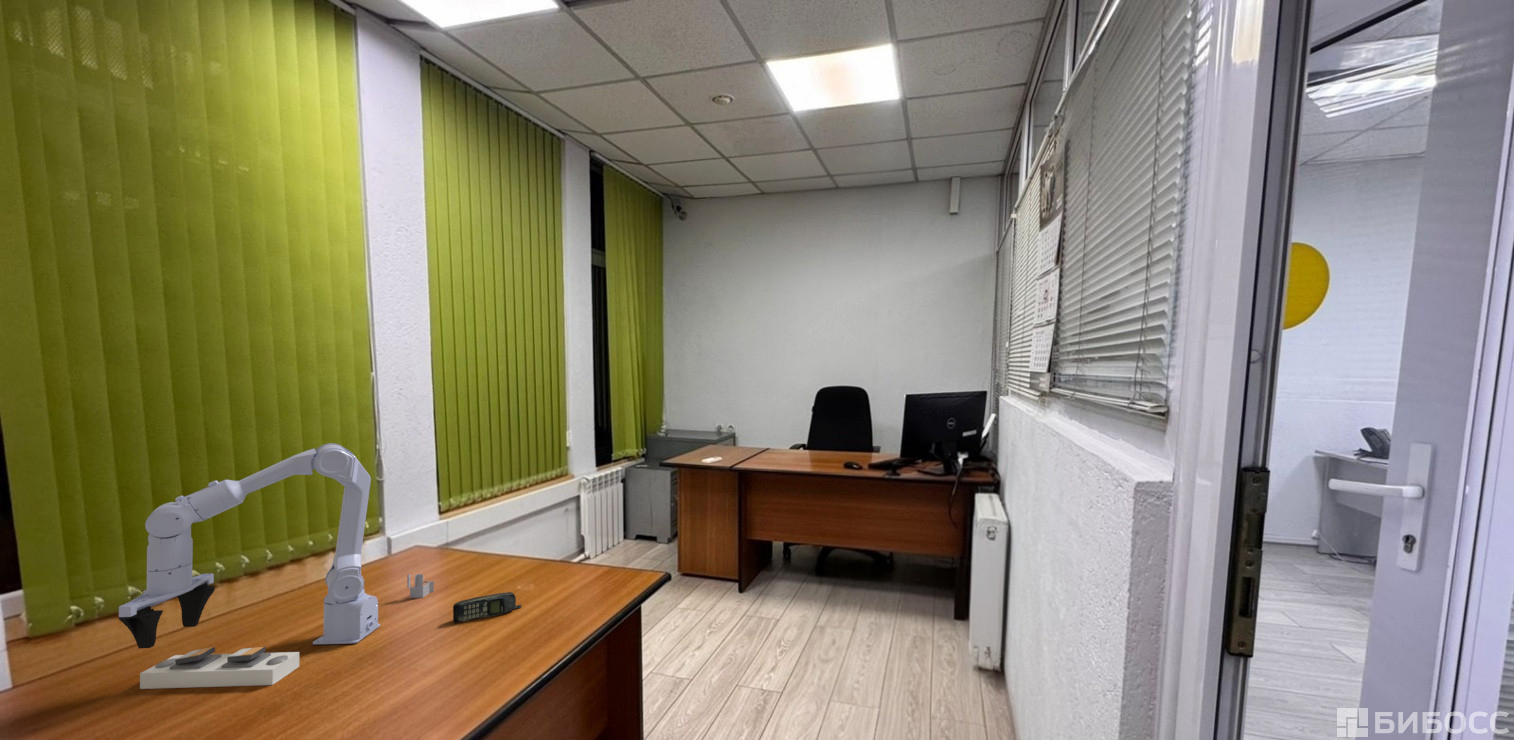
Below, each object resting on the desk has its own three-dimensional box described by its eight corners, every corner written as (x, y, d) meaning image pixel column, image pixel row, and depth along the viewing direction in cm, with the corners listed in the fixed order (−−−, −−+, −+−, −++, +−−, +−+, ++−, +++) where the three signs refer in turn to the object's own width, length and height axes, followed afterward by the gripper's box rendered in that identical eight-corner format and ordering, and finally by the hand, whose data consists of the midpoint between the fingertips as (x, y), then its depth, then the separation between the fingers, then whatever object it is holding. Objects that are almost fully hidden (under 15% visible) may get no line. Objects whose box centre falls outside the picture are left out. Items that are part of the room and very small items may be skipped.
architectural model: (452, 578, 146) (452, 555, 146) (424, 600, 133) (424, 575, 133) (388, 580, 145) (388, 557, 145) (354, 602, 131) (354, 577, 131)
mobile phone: (452, 605, 119) (521, 591, 126) (453, 600, 122) (520, 586, 129) (453, 626, 119) (521, 610, 126) (453, 620, 122) (521, 605, 129)
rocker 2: (265, 651, 100) (265, 646, 100) (251, 659, 97) (250, 654, 97) (242, 653, 100) (242, 648, 100) (227, 662, 97) (227, 656, 97)
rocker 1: (215, 651, 100) (214, 646, 100) (199, 660, 97) (198, 655, 97) (192, 655, 99) (191, 650, 99) (175, 664, 96) (175, 659, 96)
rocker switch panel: (299, 666, 102) (299, 649, 102) (272, 684, 96) (272, 666, 96) (174, 669, 101) (175, 652, 101) (140, 688, 95) (140, 670, 95)
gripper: (188, 552, 103) (187, 618, 103) (100, 582, 88) (99, 658, 88) (224, 552, 103) (223, 617, 103) (143, 581, 89) (142, 657, 89)
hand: (169, 636), depth 96 cm, fingers open, 7 cm apart
